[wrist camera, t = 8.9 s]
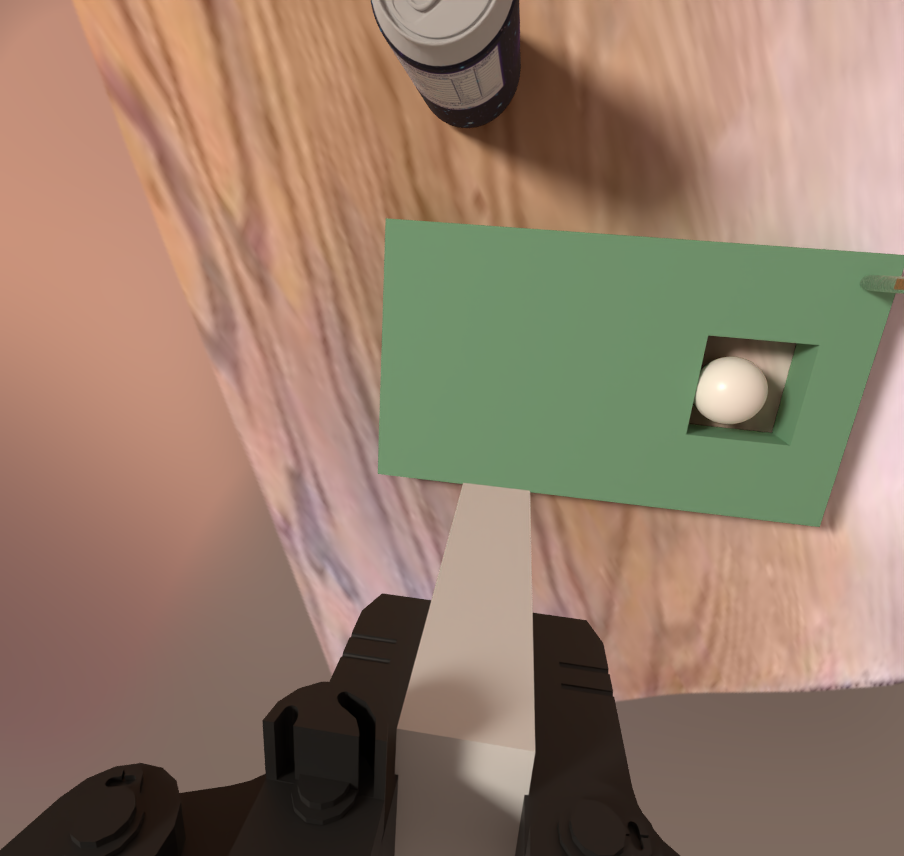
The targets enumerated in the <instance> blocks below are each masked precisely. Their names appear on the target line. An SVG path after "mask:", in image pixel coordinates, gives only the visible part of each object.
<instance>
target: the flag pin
mask: <svg viewBox="0 0 904 856" xmlns="http://www.w3.org/2000/svg"><path fill="white" fill-rule="evenodd" d="M860 287H861V288H862V289H863V290H868V291H879V292H889V293H900V294H904V276H884V275H867V276H865V277H863V278H862V279H861V281H860Z"/></svg>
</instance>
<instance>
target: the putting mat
mask: <svg viewBox="0 0 904 856" xmlns="http://www.w3.org/2000/svg"><path fill="white" fill-rule="evenodd" d="M903 269H904V255H896V254H882V253H868V252H853V251H839V250H825V249H811V248H797V247H782V246H768V245H754V244H740V243H726V242H711V241H697V240H683V239H669V238H655V237H640V236H626V235H612V234H598V233H584V232H569V231H555V230H541V229H527V228H513V227H498V226H484V225H470V224H456V223H442V222H427V221H413V220H399V219H386V226H385V259H384V291H383V324H382V356H381V388H380V421H379V453H378V474H384V475H392V476H401V477H409V478H417V479H426V480H434V481H442V482H450V483H459V484H463V483H469V484H478V485H486V486H495V487H503V488H512V489H520V490H529V491H530V492H533V493H542V494H550V495H558V496H567V497H575V498H583V499H592V500H600V501H608V502H616V503H625V504H633V505H641V506H650V507H658V508H666V509H674V510H683V511H691V512H699V513H708V514H716V515H724V516H733V517H741V518H749V519H757V520H766V521H774V522H782V523H791V524H799V525H807V526H816V527H820V524H821V521H822V518H823V515H824V512H825V509H826V506H827V503H828V500H829V497H830V493H831V490H832V487H833V484H834V481H835V478H836V475H837V472H838V469H839V466H840V463H841V460H842V457H843V454H844V450H845V447H846V444H847V441H848V438H849V435H850V432H851V429H852V426H853V423H854V420H855V417H856V414H857V410H858V407H859V404H860V401H861V398H862V395H863V392H864V389H865V386H866V383H867V380H868V377H869V374H870V370H871V367H872V364H873V361H874V358H875V355H876V352H877V349H878V346H879V343H880V340H881V337H882V334H883V330H884V327H885V324H886V321H887V318H888V315H889V312H890V309H891V306H892V303H893V300H894V297H895V294H896V293H889V292H879V291H868V290H863V289H862V288H861V287H860V281H861V279H862V278H863V277H865V276H867V275H884V276H901V275H902V272H903ZM708 335H710V336H721V337H732V338H744V339H755V340H767V341H778V342H789V343H797V344H796V347H795V351H794V355H793V358H792V362H791V365H790V369H789V373H788V376H787V380H786V384H785V387H784V391H783V394H782V398H781V402H780V405H779V409H778V412H777V416H776V420H775V423H774V427H773V431H772V433H770V432H761V431H751V430H741V429H732V428H722V427H713V426H703V425H694V424H689V419H690V415H691V410H692V406H693V401H694V397H695V392H696V388H697V383H698V379H699V374H700V370H701V365H702V361H703V356H704V352H705V347H706V343H707V338H708Z"/></svg>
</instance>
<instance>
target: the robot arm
mask: <svg viewBox="0 0 904 856" xmlns="http://www.w3.org/2000/svg"><path fill="white" fill-rule="evenodd" d="M263 736H264V752H265V770H266V774H264V775H262V776H259V777H257V778H255V779H253V780H251V781H247V782H244V783H239V784H235V785H231V786H225V787H218V788H212V789H205V790H198V791H192V792H185V793H179V790H178V786H177V781H176V780H175V779H174V778H173V777H172V776H171V775H169V774H168V773H167V772H166V771H165V770H164V769H163V768H161V767H156V766H152V765H147V764H143V763H138V764H131V765H124V766H117V767H113V768H111V769H109V770H106V771H104V772H101V773H99V774H97V775H94V776H92V777H89V778H87V779H86V780H84V781H83V782H81V783H80V784H78V785H77V786H76V787H74V788H73V789H71V790H70V791H69V792H67V793H66V794H64V795H63V796H62V797H60V798H59V799H58V800H57V801H55V802H54V803H53V804H52V805H51V806H50V807H49V808H48V809H46V810H45V811H44V812H43V813H42V814H41V815H40V816H38V817H37V818H36V819H35V820H34V821H33V822H32V823H30V824H29V825H28V826H27V827H26V828H25V829H24V830H23V831H21V832H20V833H19V834H18V835H17V836H16V837H15V838H14V839H12V840H11V841H10V842H9V843H8V844H7V845H6V846H5V847H3V848H2V849H1V850H0V856H680V855H679V854H678V853H676V852H675V851H674V850H673V849H672V848H671V847H669V846H668V845H667V844H666V843H665V842H664V841H663V840H662V839H661V838H660V837H659V835H658V834H657V833H656V832H655V831H654V829H653V827H652V825H651V823H650V822H649V821H648V819H647V818H646V817H645V816H644V814H643V813H642V811H641V809H640V808H639V806H638V804H637V801H636V798H635V795H634V791H633V788H632V784H631V779H630V774H629V769H628V764H627V759H626V754H625V749H624V744H623V740H622V734H621V729H620V724H619V720H618V714H617V709H616V704H615V699H614V697H613V689H612V684H611V679H610V674H608V664H607V659H606V654H605V649H604V645H603V642H602V641H601V640H600V638H599V637H598V636H597V634H596V633H595V631H594V630H593V629H592V627H591V626H590V625H589V623H588V622H587V620H580V619H573V618H566V617H559V616H552V615H545V614H538V613H532V565H531V516H530V491H529V490H520V489H512V488H503V487H495V486H486V485H478V484H469V483H463V486H462V489H461V493H460V497H459V500H458V504H457V508H456V512H455V515H454V519H453V523H452V526H451V530H450V534H449V537H448V541H447V545H446V548H445V552H444V556H443V560H442V563H441V567H440V571H439V574H438V578H437V582H436V585H435V589H434V593H433V597H432V600H425V599H418V598H411V597H404V596H396V595H389V594H381V595H380V596H379V597H377V598H376V599H375V600H374V601H373V602H372V603H370V604H369V605H368V606H367V607H366V608H365V609H363V610H362V612H361V614H360V616H359V618H358V621H357V623H356V625H355V627H354V629H353V632H352V636H351V637H350V638H349V640H348V643H347V645H346V647H345V649H344V651H343V656H342V657H341V658H340V660H339V662H338V664H337V667H336V669H335V671H334V673H333V675H332V678H331V680H330V682H319V683H316V684H312V685H309V686H306V687H302V688H299V689H297V690H296V691H294V692H293V693H291V694H289V695H288V696H286V697H285V698H283V699H282V700H280V701H278V702H277V704H276V705H275V706H274V707H273V708H272V710H271V711H270V712H269V713H268V715H267V716H266V717H265V718H264V719H263Z"/></svg>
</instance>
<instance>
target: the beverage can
mask: <svg viewBox="0 0 904 856" xmlns="http://www.w3.org/2000/svg"><path fill="white" fill-rule="evenodd" d="M371 5H372V9H373V13H374V16H375V19H376V22H377V24H378V26H379V29H380V31H381V32H382V34H383V36H384V37H385V39H386V41H387V42H388V44H389V45H390V47H391V48H392V50H393V52H394V53H395V55H396V56H397V58H398V59H399V61H400V63H401V64H402V66H403V67H404V69H405V71H406V72H407V74H408V75H409V77H410V78H411V80H412V82H413V83H414V85H415V86H416V88H417V89H418V91H419V93H420V94H421V96H422V97H423V99H424V100H425V102H426V104H427V105H428V107H429V108H430V109H431V111H432V112H433V113H434V114H435V115H436V116H437V117H438V118H440V119H441V120H442V121H444V122H446V123H448V124H450V125H452V126H456V127H461V128H473V127H478V126H482V125H484V124H486V123H488V122H490V121H492V120H493V119H495V118H496V117H497V116H499V115H500V114H501V113H502V112H503V111H504V110H505V108H506V107H507V106H508V104H509V103H510V101H511V100H512V98H513V96H514V94H515V92H516V89H517V86H518V82H519V78H520V69H521V60H520V15H519V0H371Z"/></svg>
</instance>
